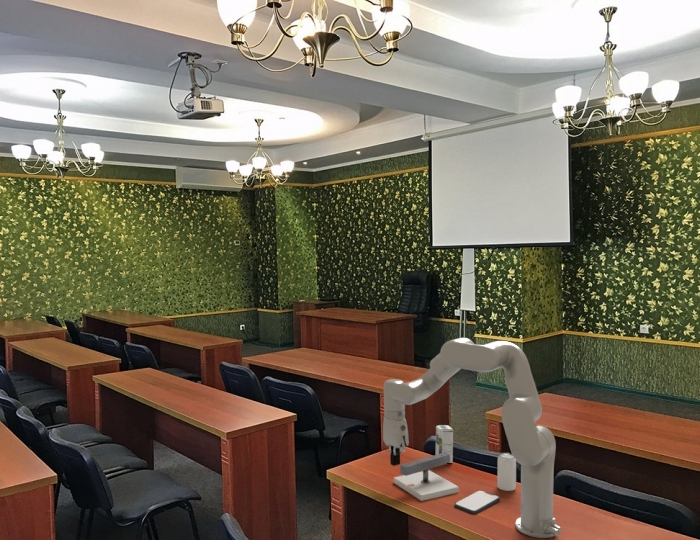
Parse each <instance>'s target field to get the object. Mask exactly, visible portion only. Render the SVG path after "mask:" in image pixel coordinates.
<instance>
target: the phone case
mask: <svg viewBox="0 0 700 540" xmlns="http://www.w3.org/2000/svg"><path fill="white" fill-rule="evenodd" d="M500 499H501V498H500V496H498V495H495V494H492V493H490V492H487V491H485V490H477V491H475V492H473V493H471V494H470V495H467V496H466V497H464V498H462V499H460V500H458V501H456V502H455V503H454V508H456V509H458V510H461V511H463V512H466V513H468V512H469V514H471V515H477V514H479V513H481V512H482V511H484V509H485V510H486V509H488V508H490V507H492V506H493V505H495V504H498V503H499V502H500Z"/></svg>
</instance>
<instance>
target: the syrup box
mask: <svg viewBox="0 0 700 540" xmlns="http://www.w3.org/2000/svg"><path fill="white" fill-rule="evenodd" d="M453 447H454V429H453V428H452V427H451V426H449V425H446V424H444V425H443V424H439V425H436V426H435V455H437V454H441V453H446V454H449V455H450V463H453V460H454V459H453V458H454V457H453V456H454V454H453V453H454V451H453V450H454V448H453ZM453 464H454V463H453Z"/></svg>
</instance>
